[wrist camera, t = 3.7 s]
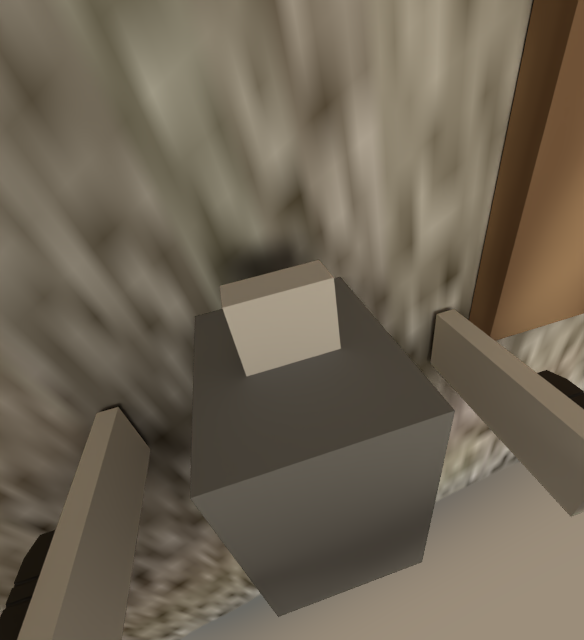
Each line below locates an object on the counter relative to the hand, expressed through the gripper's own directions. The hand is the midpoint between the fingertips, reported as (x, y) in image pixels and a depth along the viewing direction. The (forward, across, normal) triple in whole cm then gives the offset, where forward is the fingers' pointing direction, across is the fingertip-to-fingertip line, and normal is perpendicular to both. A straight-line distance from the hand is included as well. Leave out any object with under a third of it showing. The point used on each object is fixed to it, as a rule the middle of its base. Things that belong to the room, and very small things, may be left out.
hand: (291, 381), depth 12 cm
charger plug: (0, 0, 0) cm, 0 cm away
